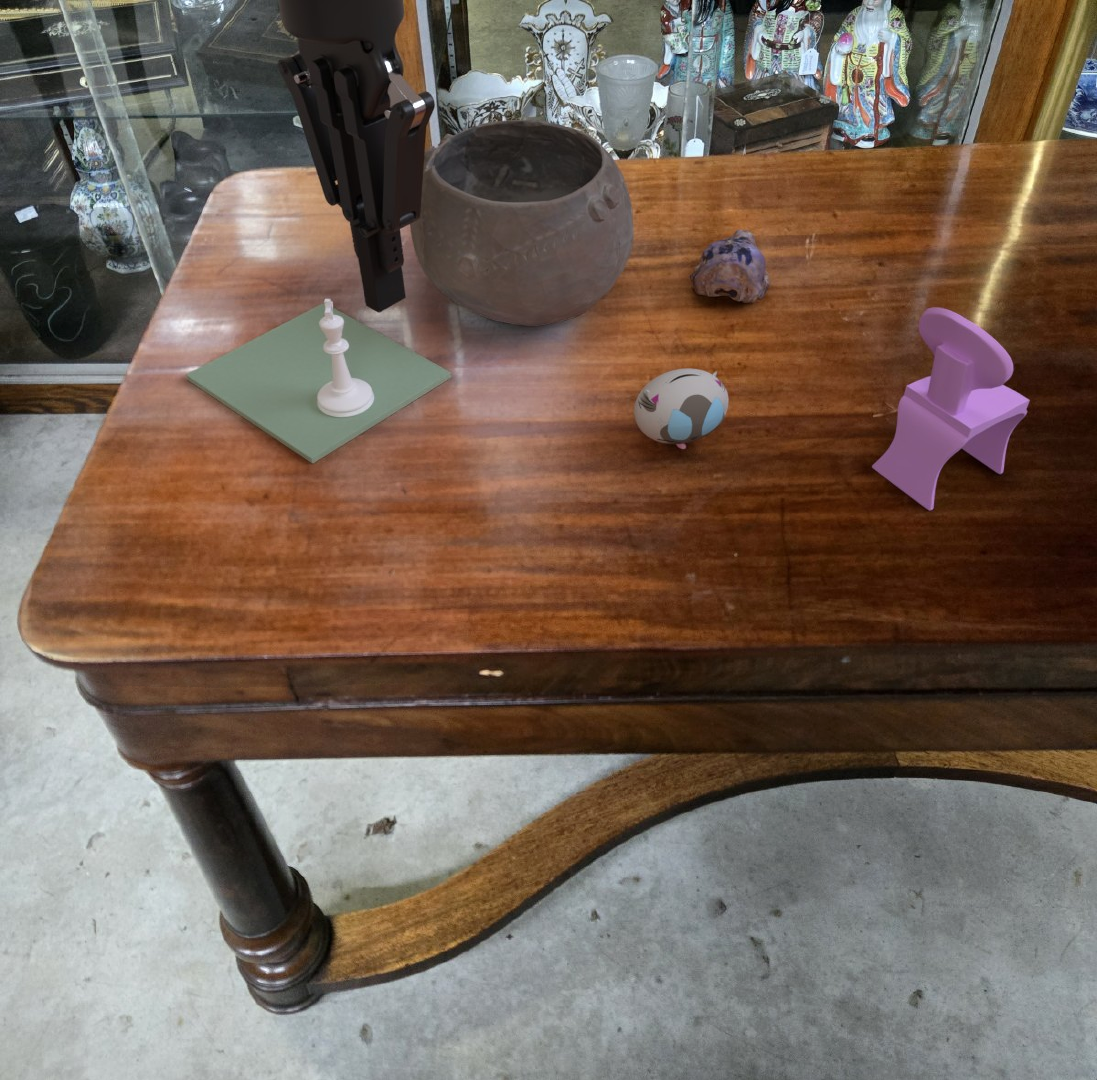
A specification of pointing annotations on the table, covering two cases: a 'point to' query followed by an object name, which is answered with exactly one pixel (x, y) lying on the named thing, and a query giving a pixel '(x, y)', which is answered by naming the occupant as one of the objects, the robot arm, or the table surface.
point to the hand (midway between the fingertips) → (385, 301)
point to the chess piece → (340, 373)
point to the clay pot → (523, 221)
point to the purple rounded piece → (732, 269)
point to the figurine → (681, 406)
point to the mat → (314, 381)
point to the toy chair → (952, 407)
